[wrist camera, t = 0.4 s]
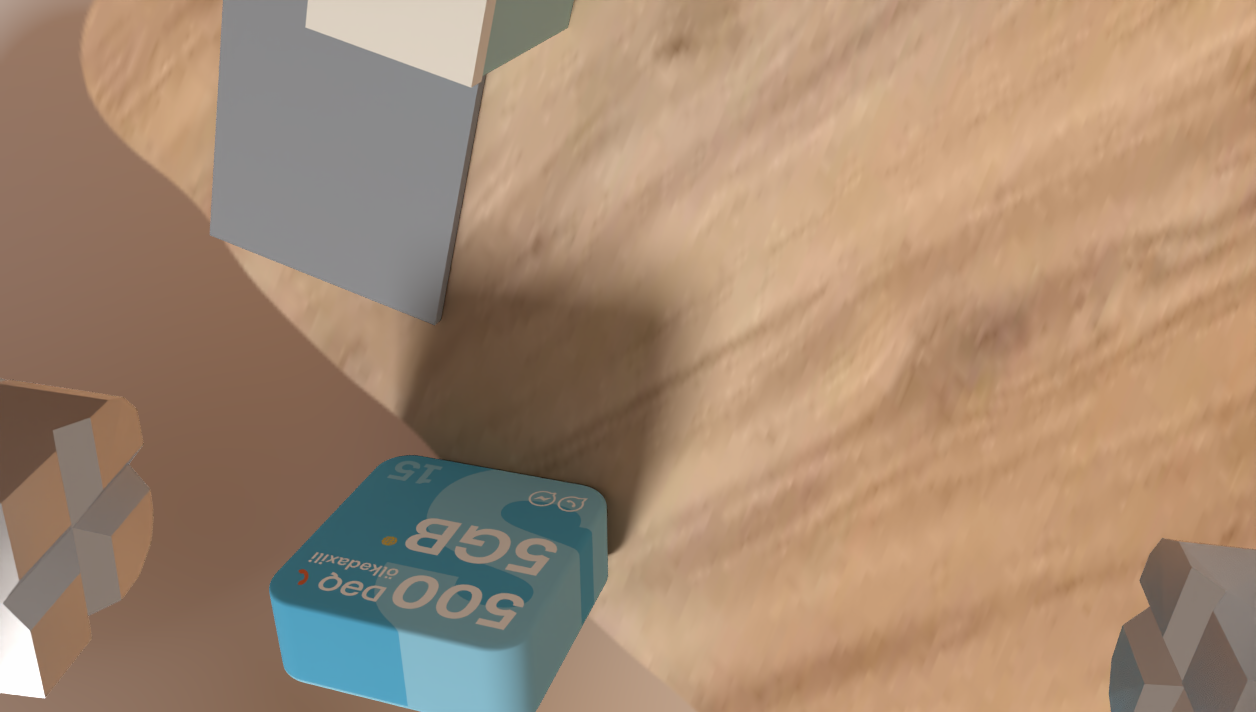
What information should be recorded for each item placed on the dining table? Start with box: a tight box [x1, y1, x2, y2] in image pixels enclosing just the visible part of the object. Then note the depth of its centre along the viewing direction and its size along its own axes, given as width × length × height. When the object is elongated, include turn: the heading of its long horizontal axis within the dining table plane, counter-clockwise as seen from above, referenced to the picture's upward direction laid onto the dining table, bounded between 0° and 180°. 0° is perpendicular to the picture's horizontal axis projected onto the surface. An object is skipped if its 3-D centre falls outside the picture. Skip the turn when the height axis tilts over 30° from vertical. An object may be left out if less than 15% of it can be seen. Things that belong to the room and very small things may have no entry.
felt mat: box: [210, 0, 486, 325], centre depth 51 cm, size 14×12×1 cm
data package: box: [269, 455, 608, 712], centre depth 52 cm, size 12×4×12 cm, turn 91°
